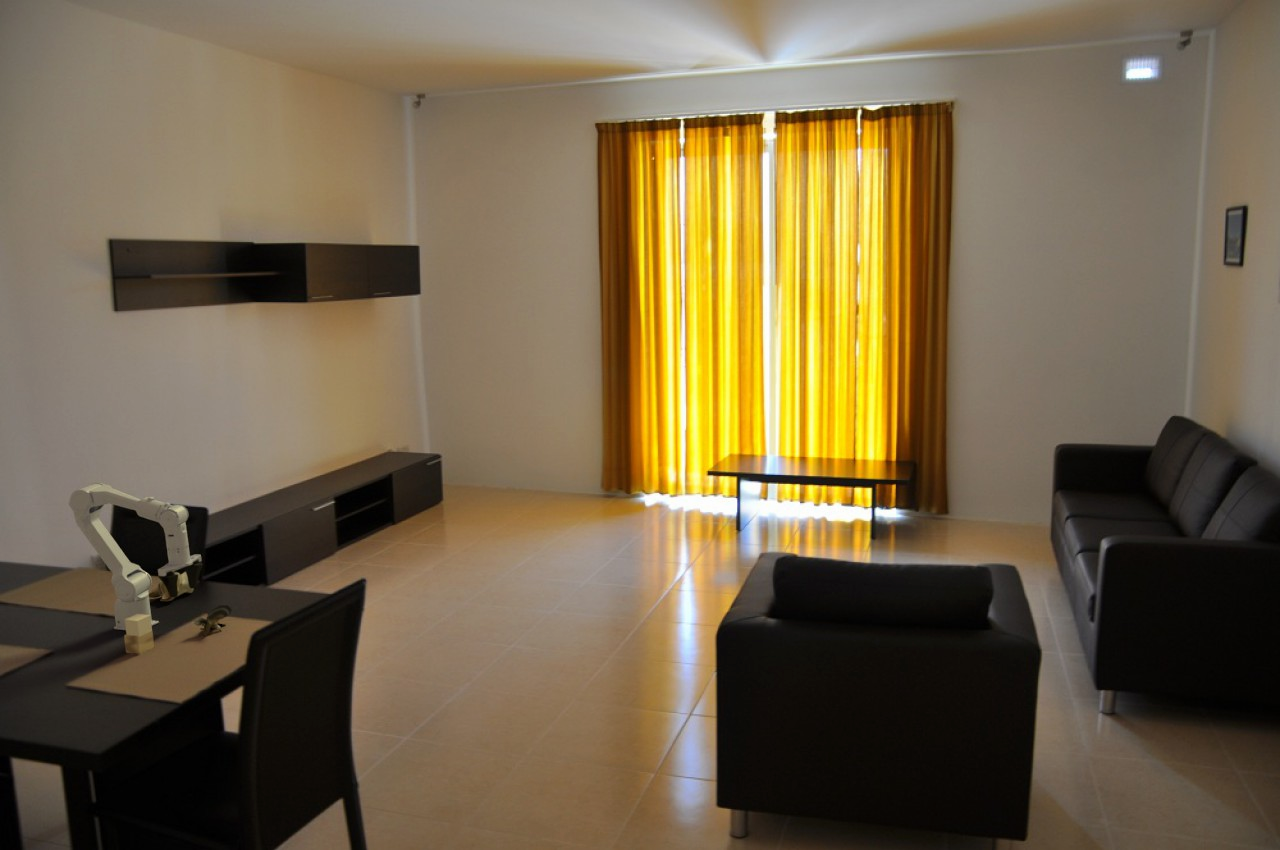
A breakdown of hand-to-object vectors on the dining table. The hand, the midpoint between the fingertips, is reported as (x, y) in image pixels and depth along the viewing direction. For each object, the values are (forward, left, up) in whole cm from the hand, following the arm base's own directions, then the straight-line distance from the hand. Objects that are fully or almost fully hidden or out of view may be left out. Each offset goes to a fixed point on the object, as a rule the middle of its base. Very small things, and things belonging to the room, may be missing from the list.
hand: (183, 592), depth 303 cm
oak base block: (+1, -18, -11) cm, 21 cm away
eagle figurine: (+10, 0, -11) cm, 15 cm away
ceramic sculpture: (-24, +19, -11) cm, 33 cm away
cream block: (+1, -18, -6) cm, 19 cm away
